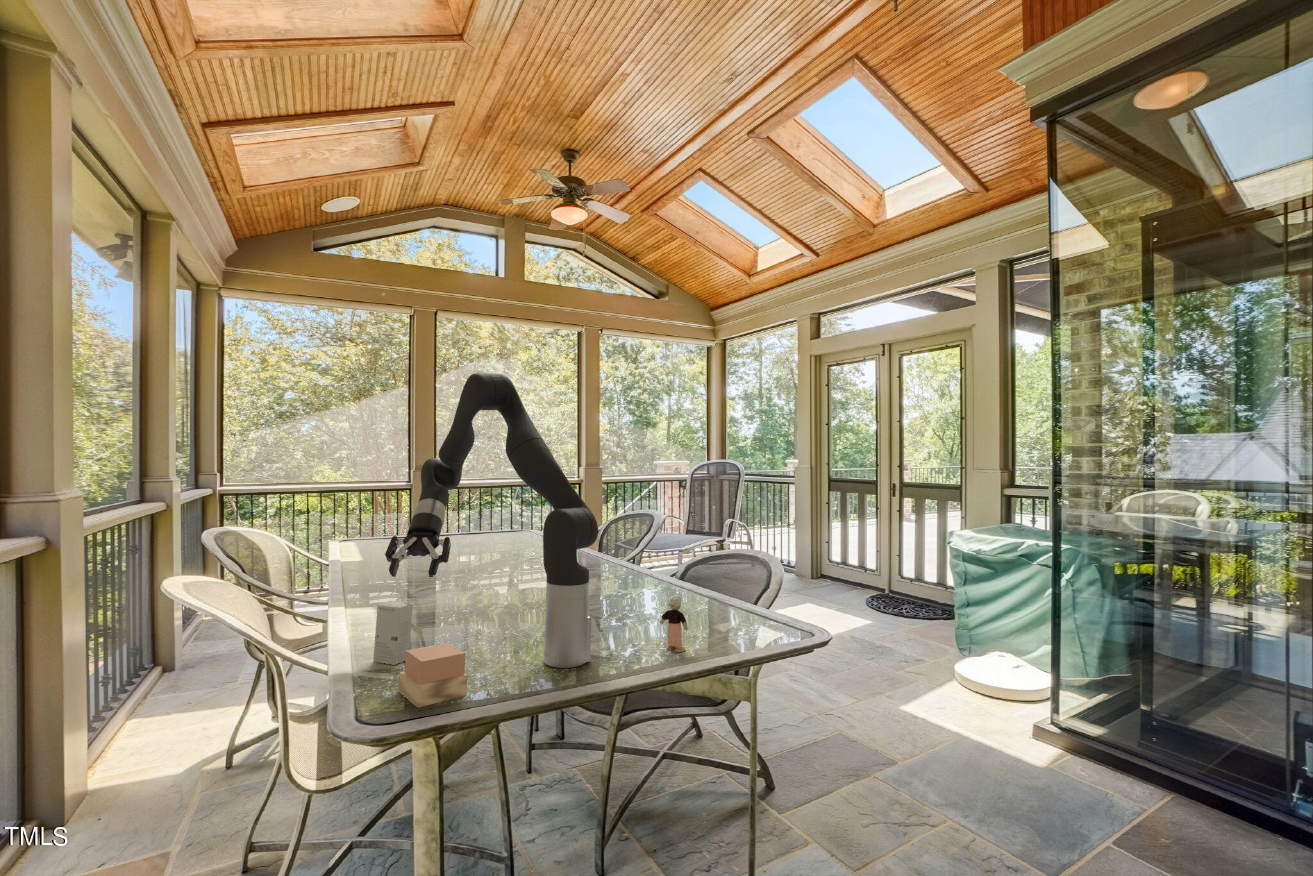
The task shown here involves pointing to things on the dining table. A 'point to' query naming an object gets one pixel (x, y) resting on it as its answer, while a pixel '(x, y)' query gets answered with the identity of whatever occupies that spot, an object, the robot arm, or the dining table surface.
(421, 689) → the tower base
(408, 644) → the skincare box
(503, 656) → the dining table surface
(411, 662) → the tower top
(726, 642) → the dining table surface
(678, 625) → the grandmother figurine
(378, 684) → the dining table surface
